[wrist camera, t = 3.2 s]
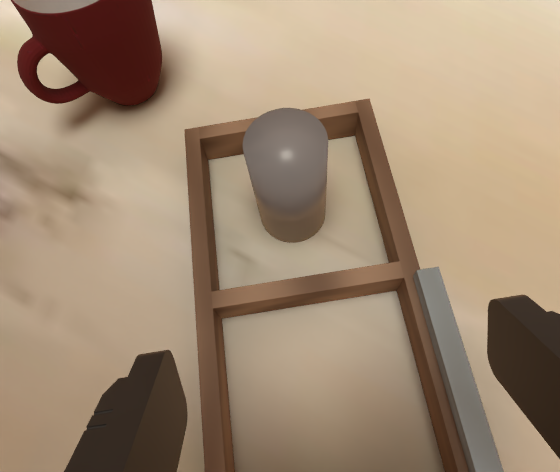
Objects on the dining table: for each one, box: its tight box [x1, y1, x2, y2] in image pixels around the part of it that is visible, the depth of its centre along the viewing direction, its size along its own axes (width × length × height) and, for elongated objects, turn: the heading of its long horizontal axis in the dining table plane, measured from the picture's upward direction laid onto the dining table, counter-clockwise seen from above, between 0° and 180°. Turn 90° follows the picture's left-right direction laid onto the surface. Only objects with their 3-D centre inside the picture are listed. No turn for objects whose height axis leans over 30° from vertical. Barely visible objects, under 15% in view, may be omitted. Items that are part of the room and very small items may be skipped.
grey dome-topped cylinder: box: [243, 108, 328, 242], centre depth 25 cm, size 4×4×8 cm
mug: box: [11, 0, 162, 106], centre depth 30 cm, size 10×8×10 cm
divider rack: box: [185, 99, 504, 472], centre depth 25 cm, size 14×25×4 cm, turn 8°
